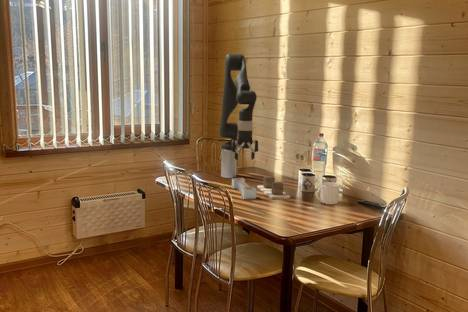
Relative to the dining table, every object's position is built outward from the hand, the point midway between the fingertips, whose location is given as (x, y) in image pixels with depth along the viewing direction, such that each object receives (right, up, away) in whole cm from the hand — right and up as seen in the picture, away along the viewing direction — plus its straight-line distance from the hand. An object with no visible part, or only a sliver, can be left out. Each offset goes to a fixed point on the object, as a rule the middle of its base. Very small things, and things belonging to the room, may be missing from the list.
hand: (244, 159), depth 241 cm
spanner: (0, -18, +3) cm, 18 cm away
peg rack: (+15, -18, +5) cm, 24 cm away
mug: (+41, -22, -10) cm, 48 cm away
